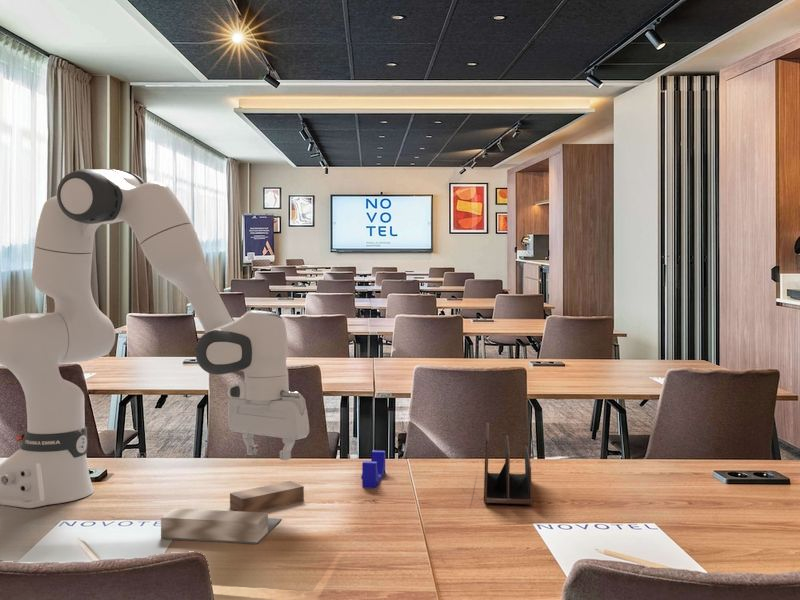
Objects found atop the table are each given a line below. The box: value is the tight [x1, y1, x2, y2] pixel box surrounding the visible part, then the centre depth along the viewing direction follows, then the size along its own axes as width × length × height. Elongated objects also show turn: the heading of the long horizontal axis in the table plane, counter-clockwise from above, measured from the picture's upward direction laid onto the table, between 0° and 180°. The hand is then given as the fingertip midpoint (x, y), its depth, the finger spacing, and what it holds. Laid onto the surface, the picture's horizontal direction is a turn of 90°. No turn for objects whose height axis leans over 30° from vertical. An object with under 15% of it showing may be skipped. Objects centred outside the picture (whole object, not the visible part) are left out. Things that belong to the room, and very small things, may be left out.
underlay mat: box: [160, 517, 282, 545], centre depth 135 cm, size 18×13×1 cm
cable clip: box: [360, 449, 386, 489], centre depth 167 cm, size 12×4×6 cm, turn 171°
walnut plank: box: [229, 480, 305, 512], centre depth 150 cm, size 14×6×4 cm, turn 129°
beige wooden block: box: [160, 507, 269, 542], centre depth 131 cm, size 18×5×4 cm, turn 81°
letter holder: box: [483, 422, 533, 506], centre depth 159 cm, size 10×20×14 cm, turn 173°
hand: (268, 456), depth 149 cm, fingers open, 8 cm apart
